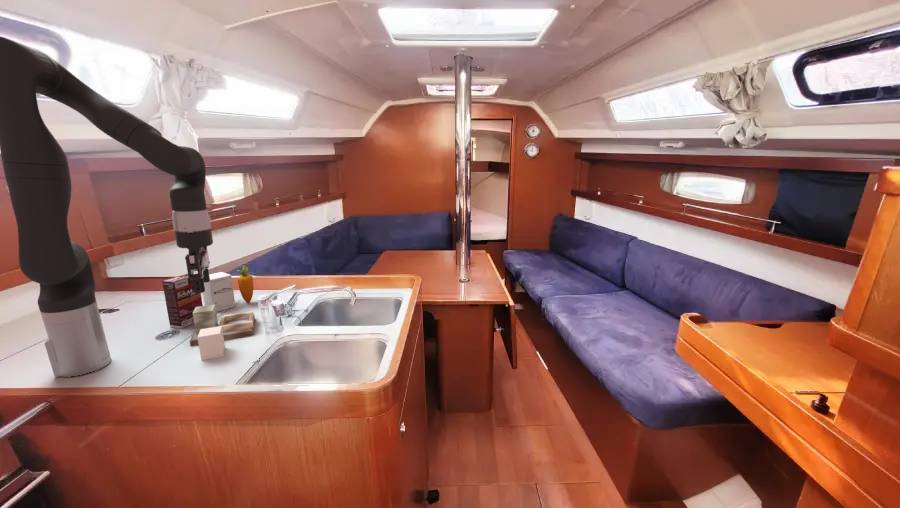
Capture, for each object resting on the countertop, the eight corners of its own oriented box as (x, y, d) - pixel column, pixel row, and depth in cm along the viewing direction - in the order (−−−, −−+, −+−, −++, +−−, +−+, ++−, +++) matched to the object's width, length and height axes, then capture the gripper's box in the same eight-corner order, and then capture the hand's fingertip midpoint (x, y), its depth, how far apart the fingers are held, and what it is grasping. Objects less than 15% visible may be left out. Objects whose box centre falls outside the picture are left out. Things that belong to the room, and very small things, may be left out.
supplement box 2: (214, 313, 118) (209, 279, 115) (204, 308, 122) (199, 275, 119) (236, 306, 124) (231, 274, 121) (226, 302, 128) (221, 271, 125)
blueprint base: (190, 346, 97) (185, 319, 95) (198, 327, 108) (194, 302, 106) (253, 334, 104) (250, 309, 102) (254, 318, 115) (251, 295, 113)
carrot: (251, 306, 125) (246, 268, 121) (238, 305, 125) (232, 268, 121) (258, 301, 130) (254, 264, 126) (246, 300, 130) (241, 264, 126)
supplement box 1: (181, 329, 107) (173, 282, 103) (169, 327, 107) (160, 281, 103) (206, 317, 115) (198, 274, 111) (194, 316, 116) (186, 273, 112)
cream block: (201, 360, 90) (197, 337, 89) (204, 351, 95) (200, 329, 93) (223, 356, 93) (219, 333, 91) (225, 347, 97) (221, 325, 95)
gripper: (180, 224, 89) (190, 280, 93) (166, 233, 77) (179, 298, 81) (214, 222, 92) (222, 277, 96) (206, 231, 80) (216, 294, 84)
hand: (202, 287), depth 89 cm, fingers open, 8 cm apart
